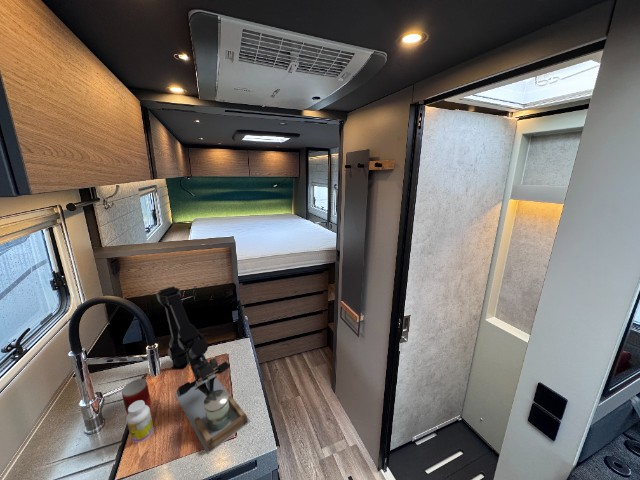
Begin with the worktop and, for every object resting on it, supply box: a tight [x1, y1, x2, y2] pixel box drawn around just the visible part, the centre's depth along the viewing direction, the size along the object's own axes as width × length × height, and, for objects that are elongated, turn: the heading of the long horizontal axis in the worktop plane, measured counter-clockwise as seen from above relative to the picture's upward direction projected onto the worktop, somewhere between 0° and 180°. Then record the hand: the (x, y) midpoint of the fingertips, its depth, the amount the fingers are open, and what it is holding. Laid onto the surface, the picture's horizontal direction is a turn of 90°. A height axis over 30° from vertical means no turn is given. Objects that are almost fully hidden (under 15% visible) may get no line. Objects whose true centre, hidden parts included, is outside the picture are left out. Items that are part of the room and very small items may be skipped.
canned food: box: [121, 378, 152, 416], centre depth 98 cm, size 8×8×11 cm
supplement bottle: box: [125, 400, 155, 444], centre depth 88 cm, size 7×7×13 cm
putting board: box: [174, 378, 252, 455], centre depth 99 cm, size 34×16×1 cm, turn 46°
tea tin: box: [204, 390, 230, 431], centre depth 93 cm, size 8×8×10 cm
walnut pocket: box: [195, 395, 248, 451], centre depth 92 cm, size 12×14×3 cm
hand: (212, 400), depth 95 cm, fingers closed
